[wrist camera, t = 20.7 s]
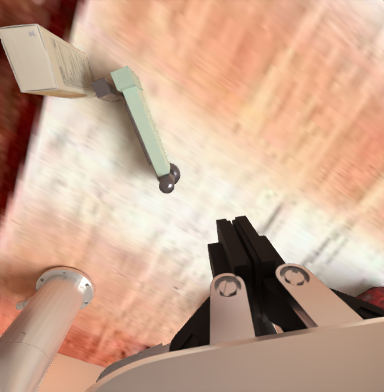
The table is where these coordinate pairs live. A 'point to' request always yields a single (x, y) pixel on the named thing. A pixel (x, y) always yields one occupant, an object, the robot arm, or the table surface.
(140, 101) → the gate
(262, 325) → the drinking cup
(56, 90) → the skincare box
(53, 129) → the table surface
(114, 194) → the table surface
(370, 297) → the lantern
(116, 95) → the latch post
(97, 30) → the table surface
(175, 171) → the dark grey rounded knob
